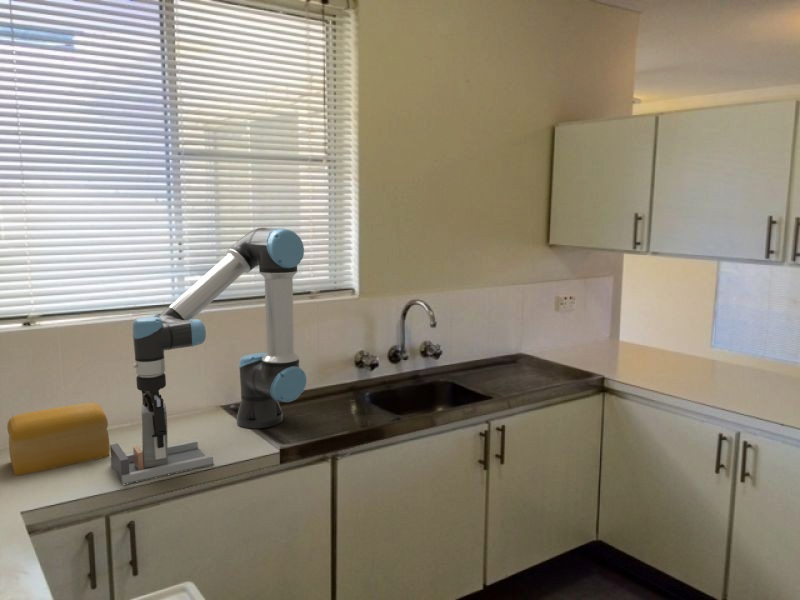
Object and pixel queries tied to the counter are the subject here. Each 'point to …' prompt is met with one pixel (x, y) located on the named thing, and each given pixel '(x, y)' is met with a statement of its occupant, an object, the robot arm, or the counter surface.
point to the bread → (57, 437)
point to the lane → (178, 460)
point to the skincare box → (151, 439)
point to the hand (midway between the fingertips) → (156, 452)
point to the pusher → (138, 458)
